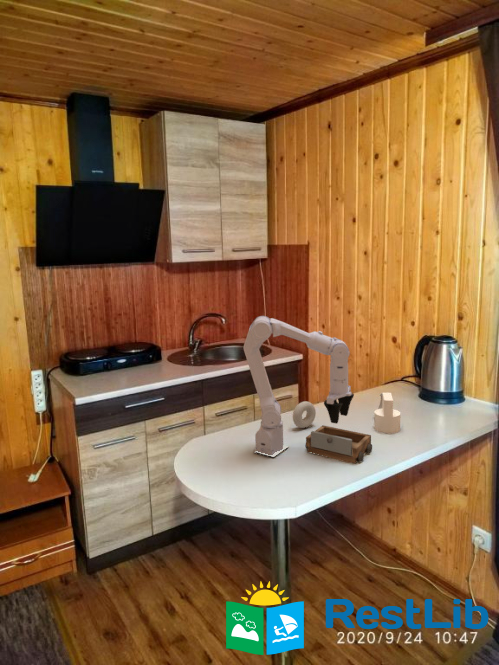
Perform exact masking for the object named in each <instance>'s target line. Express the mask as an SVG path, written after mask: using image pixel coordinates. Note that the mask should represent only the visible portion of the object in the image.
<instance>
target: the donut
mask: <svg viewBox="0 0 499 665" xmlns="http://www.w3.org/2000/svg"><path fill="white" fill-rule="evenodd" d="M305 411H306V415H305V417H304V418H303V414H304V412H305ZM316 411H317V410H316V408H315V405H314V404H313V403H311V402H310V401H305V400H304V401H301V402H299V403H298V404H297V405H296V406H295V408H294V410H293V413H292V421H293V423H294V425H295V427H298V428H300V429H305V427H306V428H308V427H310V426H312V424H313V423H314V421H315V418H316Z"/></svg>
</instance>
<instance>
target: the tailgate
mask: <svg viewBox="0 0 499 665" xmlns="http://www.w3.org/2000/svg"><path fill="white" fill-rule="evenodd" d="M310 434H311V447H315V448H320V449H324V450H328V451H332V452H337V453H341V454H345V455H349V456H351V455H352V439H348V438H344V437H339V436H334V435H330V434H325V433H320V432H316V430H311V431H310Z"/></svg>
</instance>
